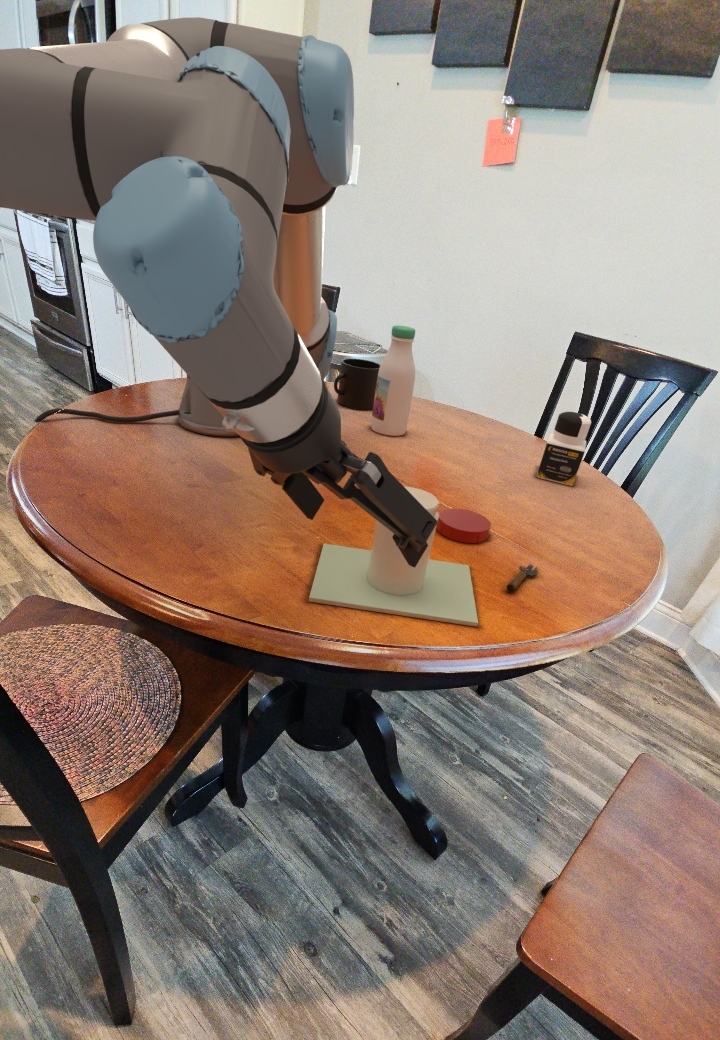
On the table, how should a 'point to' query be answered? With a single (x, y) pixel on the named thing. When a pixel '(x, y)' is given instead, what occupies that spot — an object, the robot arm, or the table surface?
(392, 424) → the milk bottle
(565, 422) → the medicine bottle
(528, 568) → the can opener
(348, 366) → the mug
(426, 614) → the mat
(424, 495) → the jar
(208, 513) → the table surface
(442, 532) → the lid
